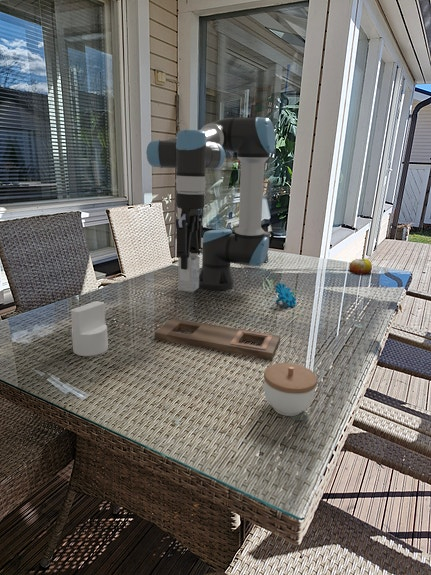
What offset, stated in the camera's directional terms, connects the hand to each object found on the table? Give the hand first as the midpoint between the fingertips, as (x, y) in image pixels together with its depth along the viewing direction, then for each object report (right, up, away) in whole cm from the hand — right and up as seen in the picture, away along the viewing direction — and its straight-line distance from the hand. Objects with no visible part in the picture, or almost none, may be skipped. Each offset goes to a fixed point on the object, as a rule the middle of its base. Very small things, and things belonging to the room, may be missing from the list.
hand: (188, 277), depth 112 cm
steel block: (0, -3, +1) cm, 3 cm away
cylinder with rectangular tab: (-26, -19, -5) cm, 33 cm away
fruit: (+79, +5, +86) cm, 117 cm away
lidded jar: (+23, -28, -28) cm, 46 cm away
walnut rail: (+8, -18, +3) cm, 20 cm away
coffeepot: (+32, +11, +101) cm, 107 cm away
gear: (+33, -9, +35) cm, 50 cm away
